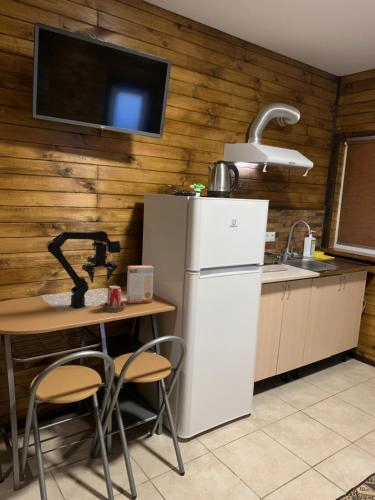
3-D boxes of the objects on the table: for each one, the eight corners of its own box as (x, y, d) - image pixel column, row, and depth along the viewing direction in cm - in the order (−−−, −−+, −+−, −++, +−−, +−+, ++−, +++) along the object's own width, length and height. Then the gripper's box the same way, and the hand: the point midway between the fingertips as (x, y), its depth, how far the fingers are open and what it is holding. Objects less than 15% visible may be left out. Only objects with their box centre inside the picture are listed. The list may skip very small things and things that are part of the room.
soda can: (104, 307, 205) (105, 286, 204) (116, 306, 210) (117, 284, 208) (111, 311, 200) (112, 289, 198) (122, 309, 205) (123, 287, 203)
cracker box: (149, 299, 226) (151, 265, 223) (152, 302, 221) (154, 267, 218) (126, 300, 221) (127, 265, 218) (128, 303, 216) (129, 267, 213)
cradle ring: (113, 313, 197) (113, 308, 197) (99, 308, 204) (99, 303, 203) (128, 309, 206) (129, 304, 205) (115, 304, 212) (115, 300, 212)
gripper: (109, 249, 218) (108, 275, 221) (77, 251, 206) (77, 279, 209) (119, 253, 210) (117, 281, 213) (87, 256, 198) (86, 285, 201)
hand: (99, 281), depth 209 cm, fingers open, 9 cm apart
